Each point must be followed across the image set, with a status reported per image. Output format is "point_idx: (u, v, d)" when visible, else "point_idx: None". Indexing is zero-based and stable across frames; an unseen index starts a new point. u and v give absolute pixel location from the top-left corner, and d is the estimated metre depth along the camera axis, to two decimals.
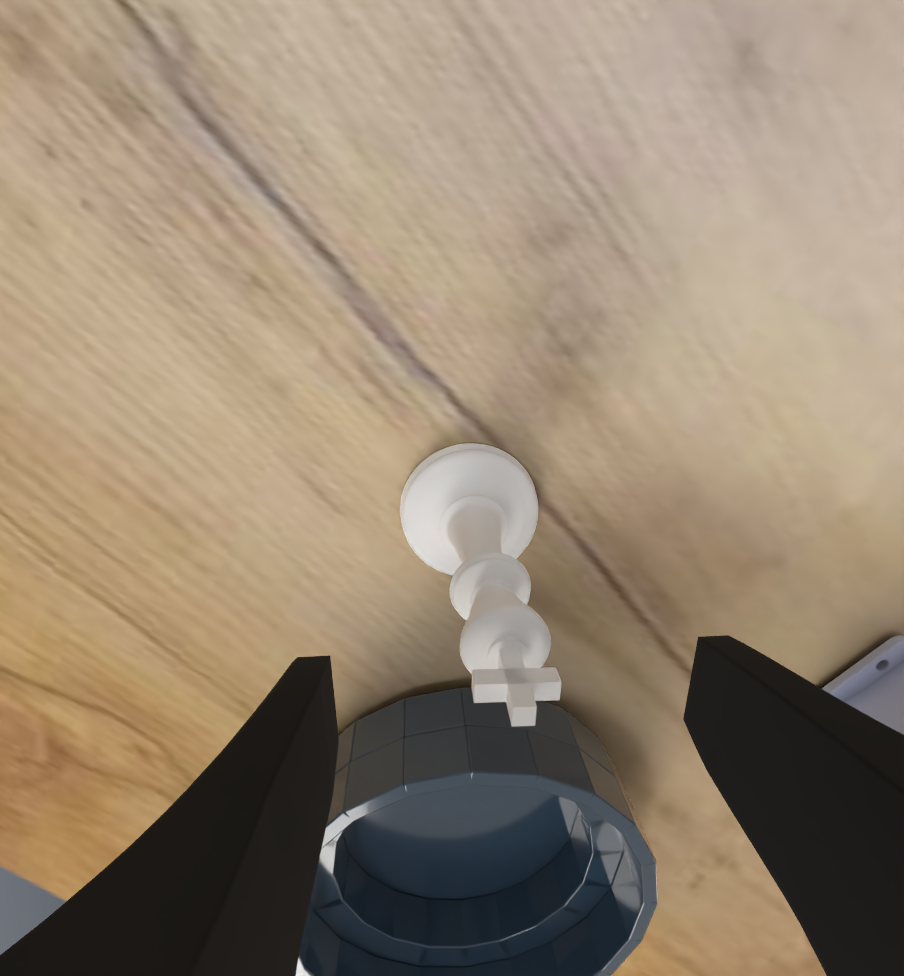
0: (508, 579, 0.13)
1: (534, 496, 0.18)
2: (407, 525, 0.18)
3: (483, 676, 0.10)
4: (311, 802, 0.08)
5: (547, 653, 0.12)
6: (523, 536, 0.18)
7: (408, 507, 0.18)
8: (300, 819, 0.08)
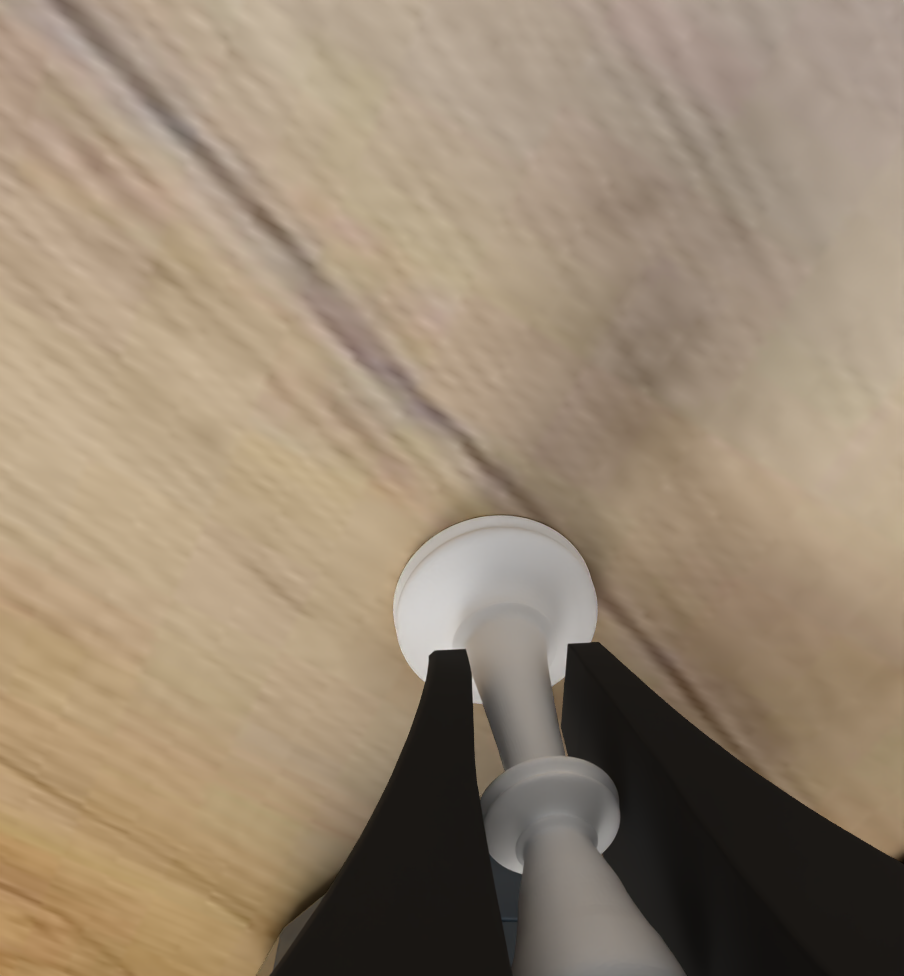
0: (584, 809, 0.07)
1: (593, 594, 0.12)
2: (404, 637, 0.12)
3: None
4: None
5: None
6: None
7: (405, 613, 0.12)
8: None
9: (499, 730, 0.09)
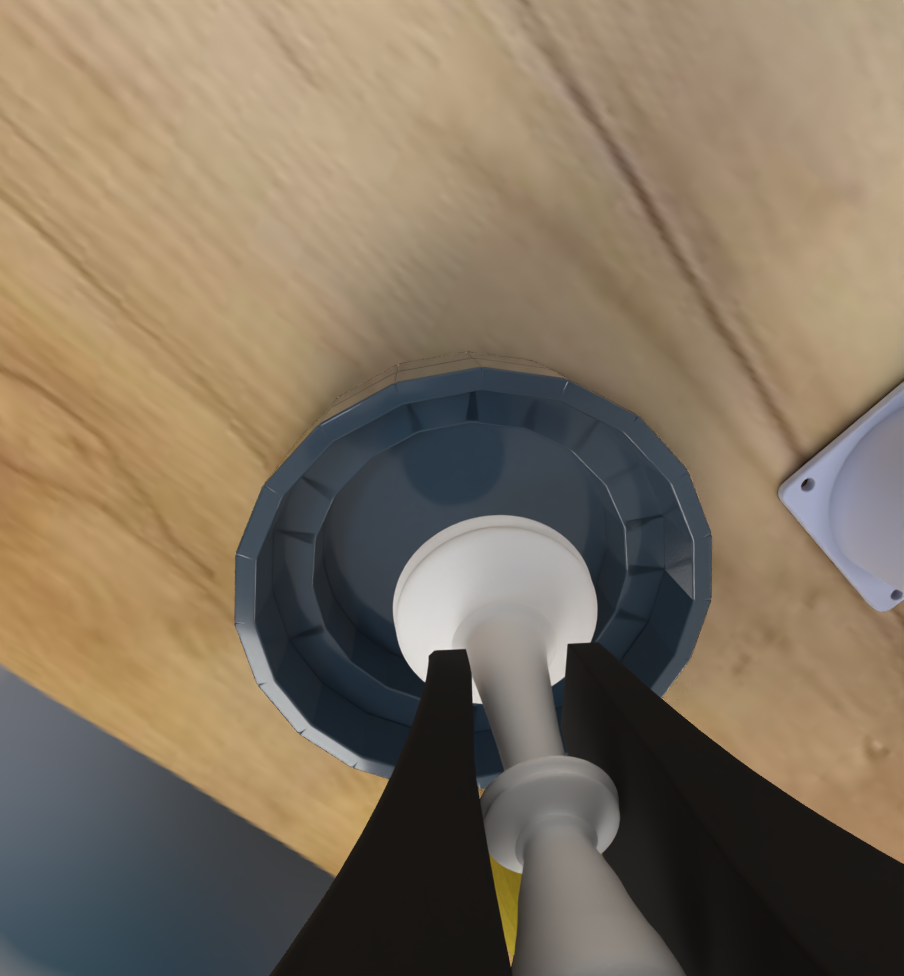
0: (584, 809, 0.07)
1: (593, 594, 0.12)
2: (404, 637, 0.12)
3: None
4: None
5: None
6: None
7: (405, 612, 0.12)
8: None
9: (499, 730, 0.09)
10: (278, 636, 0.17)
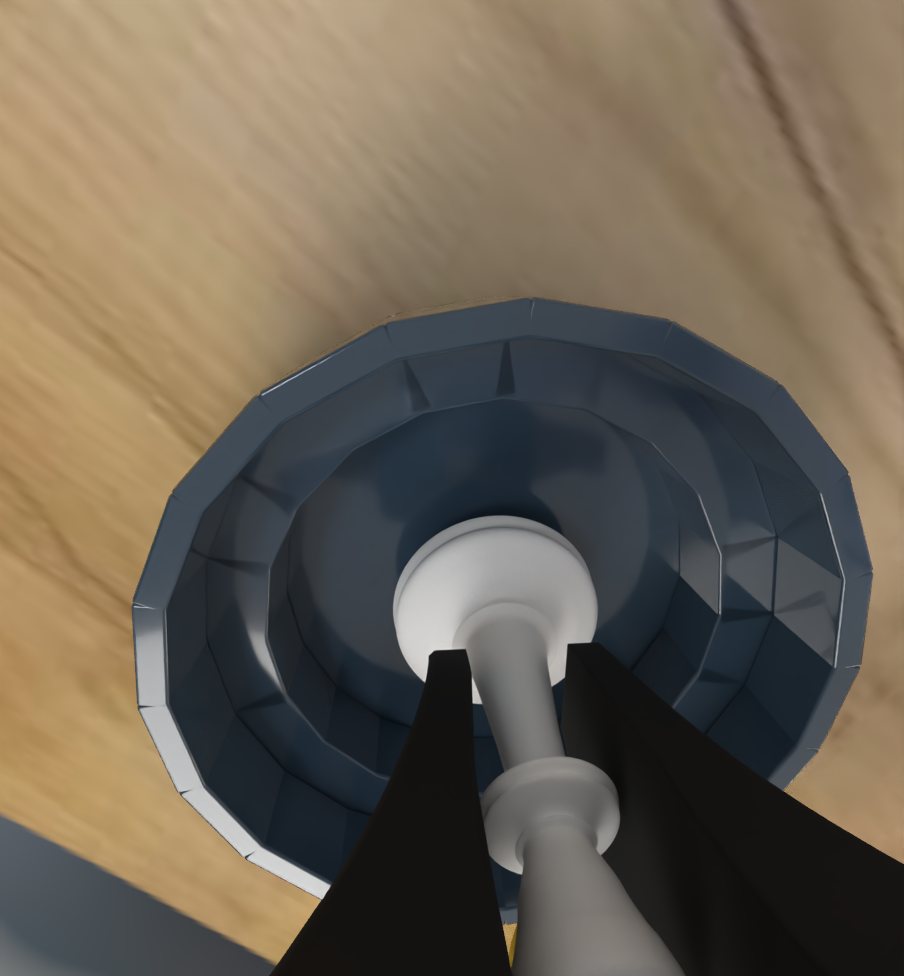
0: (584, 810, 0.07)
1: (593, 594, 0.12)
2: (404, 638, 0.12)
3: None
4: None
5: None
6: None
7: (405, 613, 0.12)
8: None
9: (499, 730, 0.09)
10: (215, 713, 0.12)
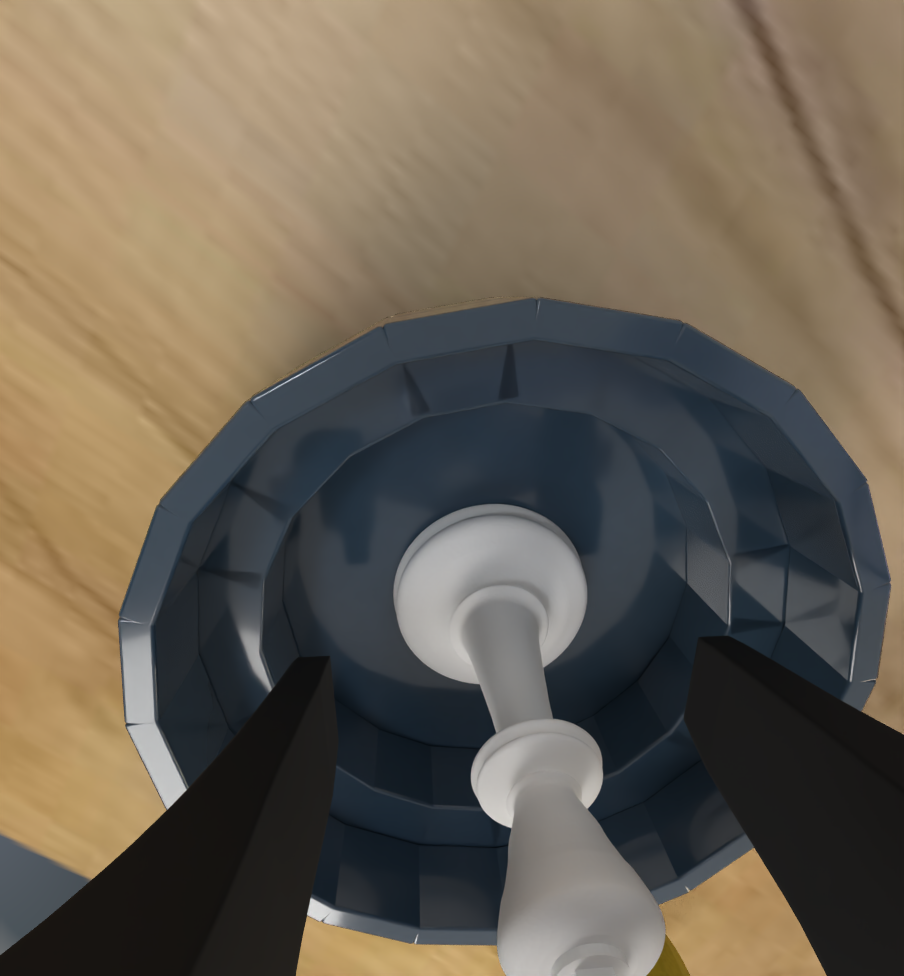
0: (569, 766, 0.08)
1: (583, 578, 0.13)
2: (404, 619, 0.13)
3: None
4: (311, 802, 0.08)
5: (659, 956, 0.06)
6: (565, 633, 0.13)
7: (405, 596, 0.13)
8: (300, 819, 0.08)
9: (492, 700, 0.10)
10: (207, 729, 0.11)
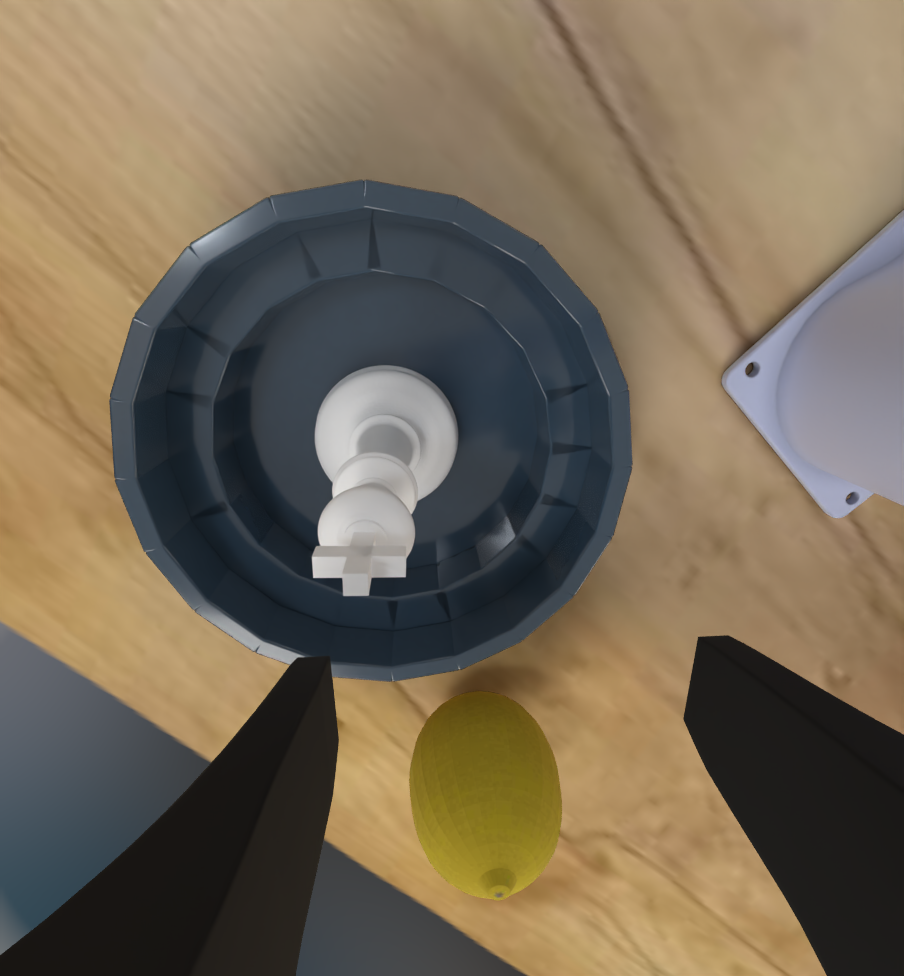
0: (389, 479, 0.13)
1: (451, 420, 0.18)
2: (320, 449, 0.18)
3: (325, 551, 0.10)
4: (311, 802, 0.08)
5: (410, 541, 0.11)
6: (440, 463, 0.18)
7: (320, 430, 0.17)
8: (300, 819, 0.08)
9: None
10: (173, 508, 0.16)
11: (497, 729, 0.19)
